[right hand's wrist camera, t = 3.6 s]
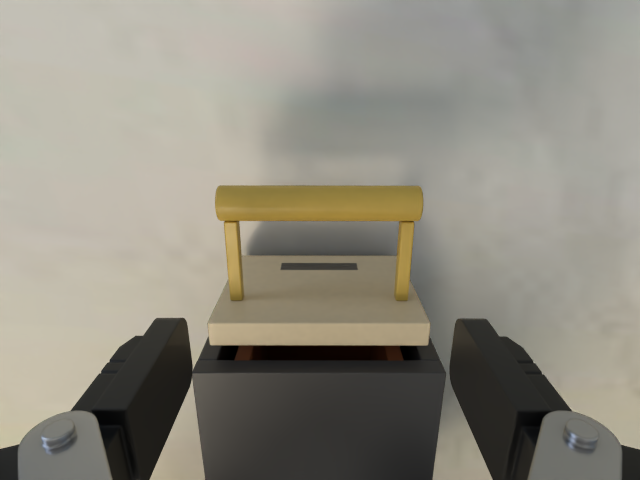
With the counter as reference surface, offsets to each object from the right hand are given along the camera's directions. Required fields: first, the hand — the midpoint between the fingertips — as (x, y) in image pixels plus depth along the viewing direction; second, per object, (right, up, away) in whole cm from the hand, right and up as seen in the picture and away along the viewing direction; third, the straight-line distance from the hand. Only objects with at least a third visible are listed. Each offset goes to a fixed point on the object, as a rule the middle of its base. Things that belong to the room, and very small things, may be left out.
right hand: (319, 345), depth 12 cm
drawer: (0, -2, +15) cm, 15 cm away
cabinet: (0, -7, +18) cm, 19 cm away
